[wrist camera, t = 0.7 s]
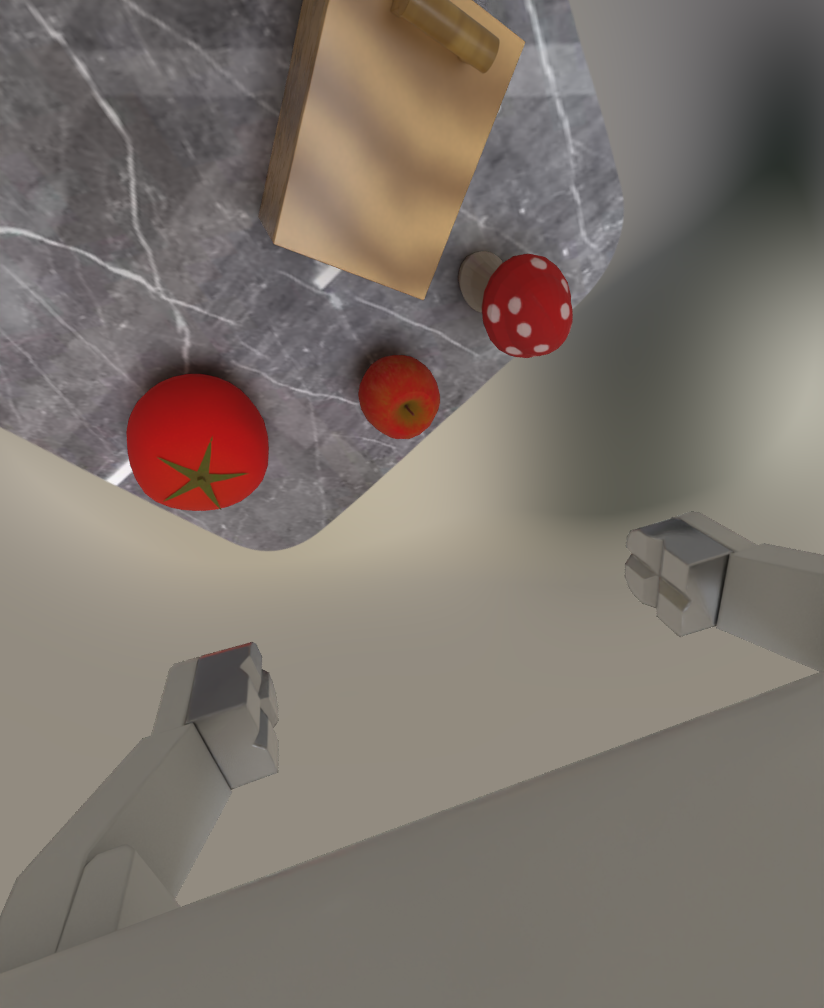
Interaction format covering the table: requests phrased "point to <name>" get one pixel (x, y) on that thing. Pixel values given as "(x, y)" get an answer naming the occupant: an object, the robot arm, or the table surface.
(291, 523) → the table surface
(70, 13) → the table surface
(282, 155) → the box
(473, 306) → the decorative mushroom
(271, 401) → the table surface
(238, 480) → the tomato
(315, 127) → the lid
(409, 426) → the apple
